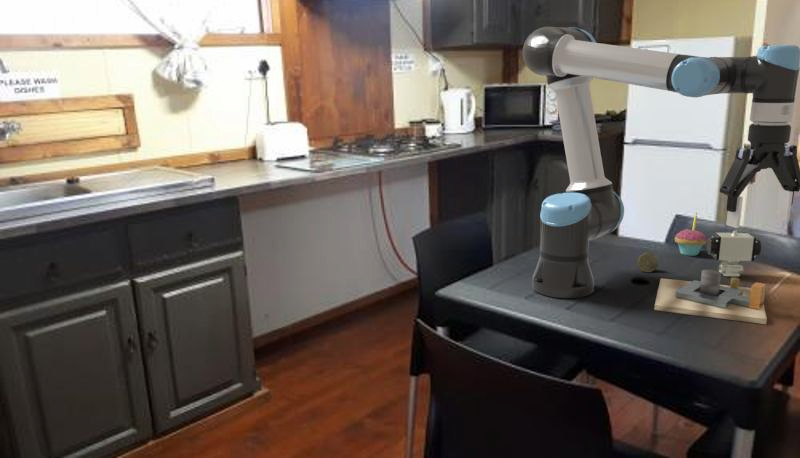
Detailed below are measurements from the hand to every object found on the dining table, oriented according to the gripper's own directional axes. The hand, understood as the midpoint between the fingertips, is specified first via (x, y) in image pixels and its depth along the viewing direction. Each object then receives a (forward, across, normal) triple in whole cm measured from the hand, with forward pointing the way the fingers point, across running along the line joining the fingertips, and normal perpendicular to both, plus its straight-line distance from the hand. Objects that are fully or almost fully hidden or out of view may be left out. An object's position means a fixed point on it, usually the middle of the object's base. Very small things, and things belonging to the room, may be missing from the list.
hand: (757, 223), depth 133 cm
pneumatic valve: (+20, +16, +21) cm, 34 cm away
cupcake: (+21, +21, +40) cm, 50 cm away
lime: (+21, -1, +32) cm, 38 cm away
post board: (+20, -3, +8) cm, 22 cm away
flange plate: (+19, -2, +5) cm, 20 cm away
